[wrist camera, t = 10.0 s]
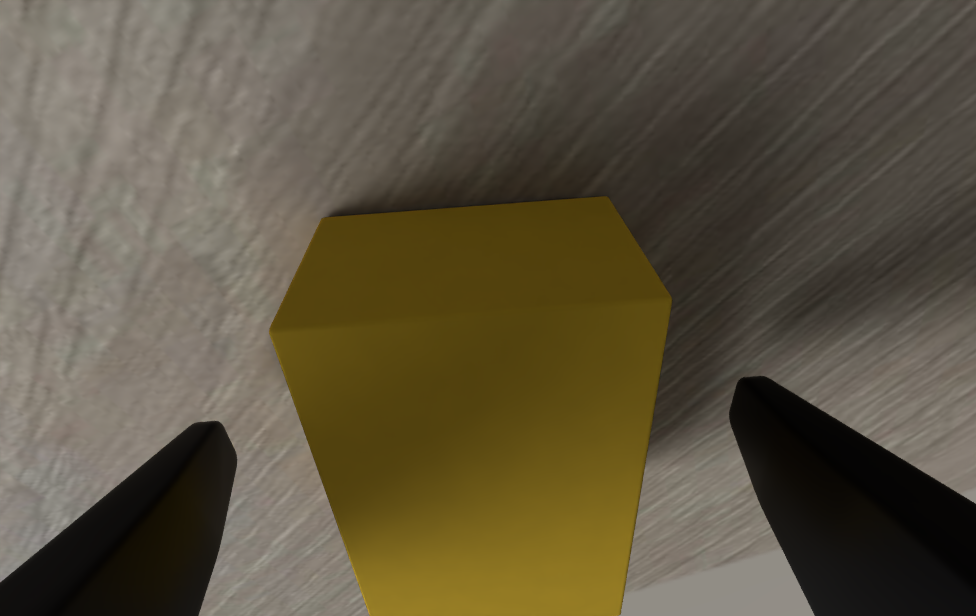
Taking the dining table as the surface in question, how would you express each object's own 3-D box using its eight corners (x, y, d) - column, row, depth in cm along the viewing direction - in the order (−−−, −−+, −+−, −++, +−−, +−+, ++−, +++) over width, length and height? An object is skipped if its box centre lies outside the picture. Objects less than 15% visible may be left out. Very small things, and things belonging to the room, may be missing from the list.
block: (320, 216, 8) (265, 330, 6) (608, 194, 8) (675, 298, 6) (391, 498, 12) (376, 638, 10) (587, 481, 12) (621, 617, 10)
